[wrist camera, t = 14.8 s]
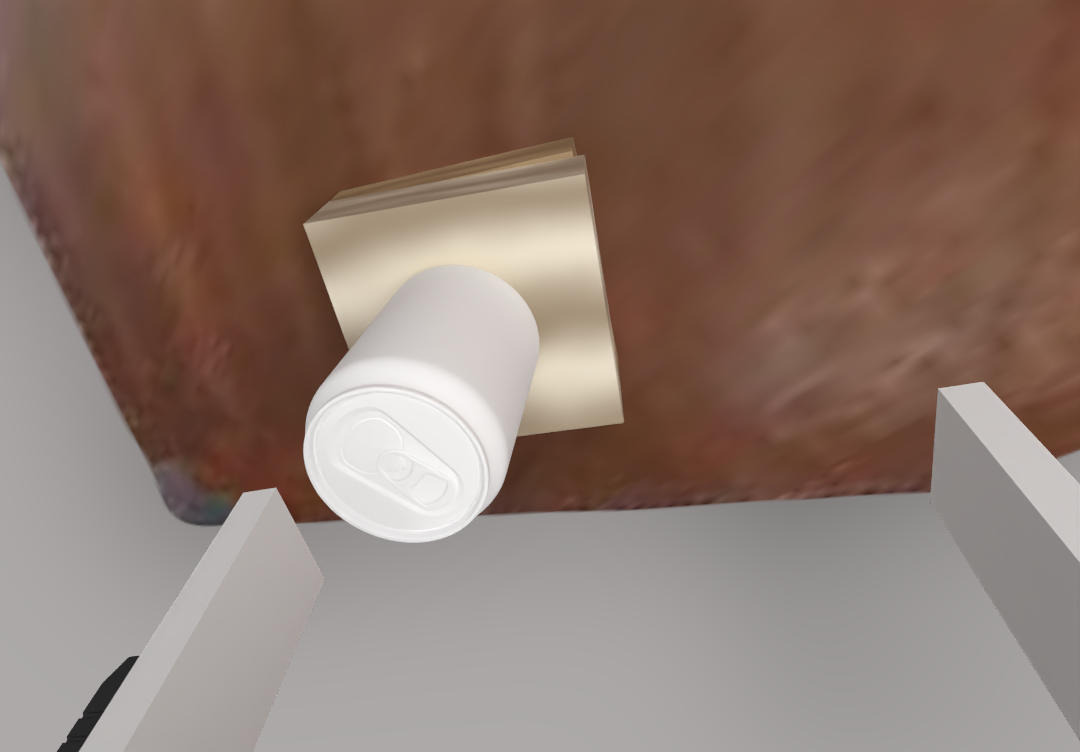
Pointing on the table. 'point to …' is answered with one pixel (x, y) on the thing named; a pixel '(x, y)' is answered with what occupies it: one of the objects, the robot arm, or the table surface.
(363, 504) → the beverage can
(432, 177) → the bottom slab
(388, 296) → the top slab
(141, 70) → the table surface
